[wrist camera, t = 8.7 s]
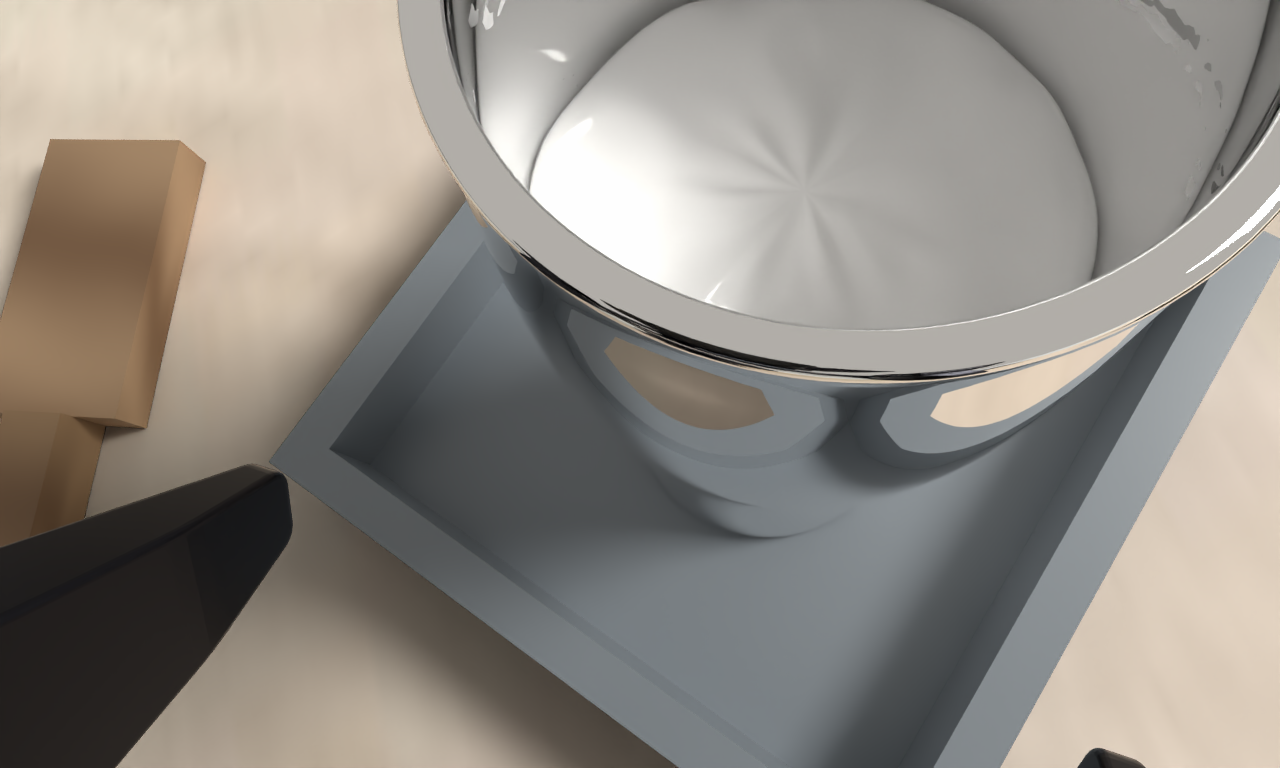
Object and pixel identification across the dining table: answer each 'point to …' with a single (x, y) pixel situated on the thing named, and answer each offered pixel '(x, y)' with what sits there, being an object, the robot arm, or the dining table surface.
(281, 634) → the dining table surface
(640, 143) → the silver metal cup
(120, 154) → the scraper paddle
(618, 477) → the tray
